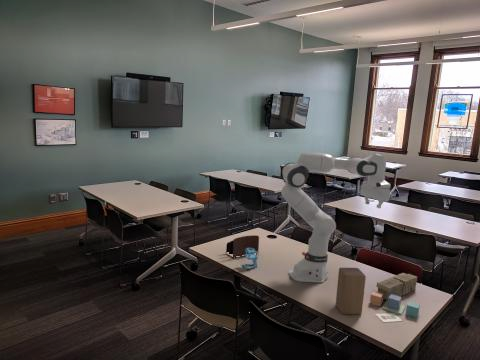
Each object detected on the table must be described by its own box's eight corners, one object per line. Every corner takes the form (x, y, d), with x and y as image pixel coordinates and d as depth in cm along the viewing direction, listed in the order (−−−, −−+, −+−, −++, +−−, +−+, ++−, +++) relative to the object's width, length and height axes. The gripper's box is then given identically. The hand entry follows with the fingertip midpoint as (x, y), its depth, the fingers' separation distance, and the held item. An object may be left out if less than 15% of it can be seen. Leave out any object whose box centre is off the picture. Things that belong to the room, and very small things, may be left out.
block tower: (402, 286, 207) (374, 296, 189) (404, 272, 207) (376, 281, 188) (415, 291, 201) (388, 302, 183) (417, 276, 201) (390, 286, 182)
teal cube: (416, 318, 172) (418, 308, 171) (405, 314, 174) (406, 305, 174) (418, 313, 176) (419, 304, 175) (407, 310, 178) (408, 301, 178)
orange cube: (379, 306, 181) (381, 297, 180) (369, 303, 184) (370, 294, 183) (382, 302, 185) (383, 293, 184) (372, 299, 188) (373, 290, 187)
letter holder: (258, 254, 244) (259, 234, 242) (232, 258, 234) (233, 238, 232) (250, 249, 253) (251, 230, 250) (225, 253, 243) (226, 233, 240)
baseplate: (401, 315, 173) (403, 303, 173) (382, 308, 178) (383, 298, 178) (405, 307, 181) (406, 296, 180) (386, 302, 186) (387, 291, 185)
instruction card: (383, 322, 166) (383, 321, 166) (374, 314, 173) (374, 313, 173) (402, 321, 168) (402, 320, 168) (393, 313, 175) (393, 312, 175)
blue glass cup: (259, 268, 220) (260, 250, 218) (246, 270, 217) (247, 251, 215) (254, 264, 227) (255, 245, 226) (242, 265, 224) (243, 246, 223)
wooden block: (334, 304, 181) (338, 266, 177) (354, 304, 181) (358, 267, 178) (342, 315, 171) (346, 275, 168) (362, 315, 172) (366, 275, 168)
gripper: (359, 179, 213) (356, 202, 215) (383, 185, 194) (380, 210, 196) (367, 179, 215) (365, 201, 218) (393, 185, 197) (389, 210, 199)
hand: (372, 206), depth 207 cm, fingers open, 8 cm apart
